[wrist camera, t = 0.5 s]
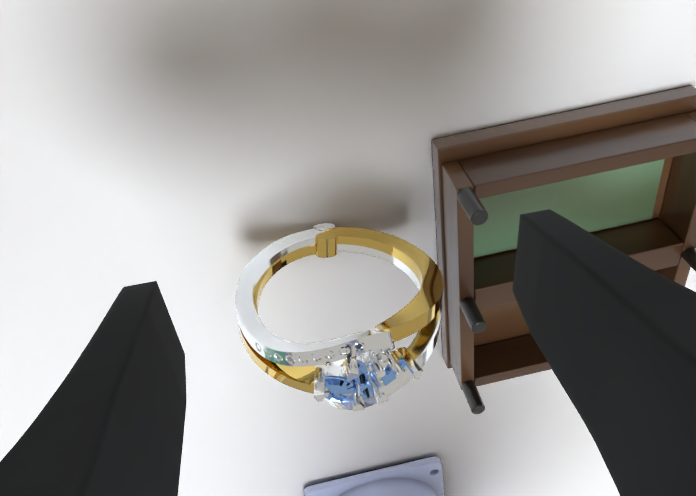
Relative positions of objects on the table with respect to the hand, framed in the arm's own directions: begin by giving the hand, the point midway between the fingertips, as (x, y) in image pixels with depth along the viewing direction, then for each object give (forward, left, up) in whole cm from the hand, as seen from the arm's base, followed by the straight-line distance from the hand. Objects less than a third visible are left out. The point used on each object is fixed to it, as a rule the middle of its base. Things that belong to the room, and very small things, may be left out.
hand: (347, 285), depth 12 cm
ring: (-6, 0, -10) cm, 12 cm away
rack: (-9, -10, -10) cm, 16 cm away
